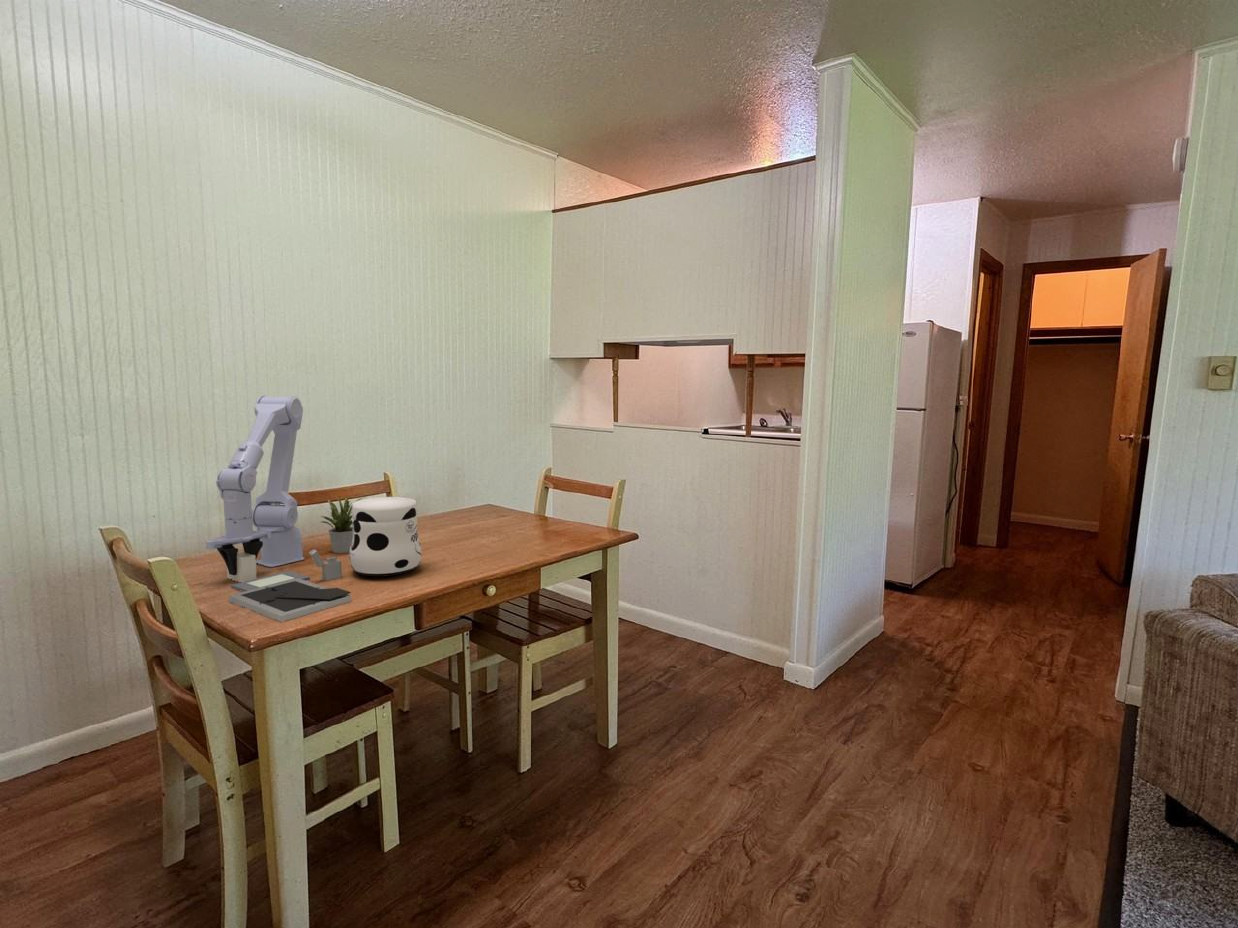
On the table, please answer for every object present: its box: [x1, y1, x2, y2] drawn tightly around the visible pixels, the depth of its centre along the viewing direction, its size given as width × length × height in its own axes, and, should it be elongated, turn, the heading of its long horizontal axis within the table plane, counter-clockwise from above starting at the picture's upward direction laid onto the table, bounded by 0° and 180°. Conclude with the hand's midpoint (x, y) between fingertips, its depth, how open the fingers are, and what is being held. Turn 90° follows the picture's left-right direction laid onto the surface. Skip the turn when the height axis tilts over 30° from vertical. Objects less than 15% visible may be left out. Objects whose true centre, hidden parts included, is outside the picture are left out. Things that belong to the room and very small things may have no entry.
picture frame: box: [228, 578, 352, 623], centre depth 144 cm, size 16×3×21 cm
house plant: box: [317, 495, 367, 554], centre depth 185 cm, size 14×14×16 cm
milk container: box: [348, 496, 422, 578], centre depth 166 cm, size 17×17×18 cm
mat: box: [230, 570, 311, 592], centre depth 156 cm, size 14×9×1 cm, turn 148°
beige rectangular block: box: [226, 550, 258, 583], centre depth 159 cm, size 4×6×6 cm, turn 58°
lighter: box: [308, 548, 343, 582], centre depth 159 cm, size 7×2×8 cm, turn 138°
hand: (241, 572), depth 159 cm, fingers closed on beige rectangular block, 3 cm apart
